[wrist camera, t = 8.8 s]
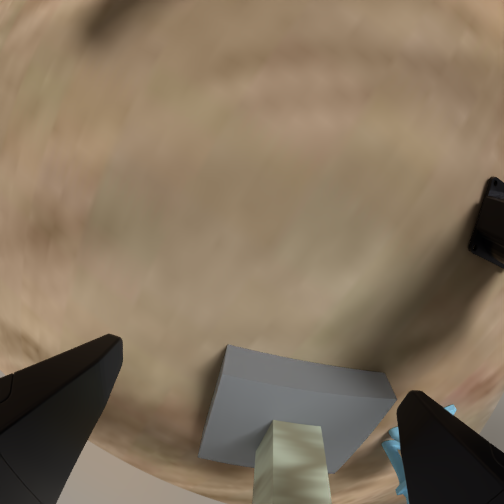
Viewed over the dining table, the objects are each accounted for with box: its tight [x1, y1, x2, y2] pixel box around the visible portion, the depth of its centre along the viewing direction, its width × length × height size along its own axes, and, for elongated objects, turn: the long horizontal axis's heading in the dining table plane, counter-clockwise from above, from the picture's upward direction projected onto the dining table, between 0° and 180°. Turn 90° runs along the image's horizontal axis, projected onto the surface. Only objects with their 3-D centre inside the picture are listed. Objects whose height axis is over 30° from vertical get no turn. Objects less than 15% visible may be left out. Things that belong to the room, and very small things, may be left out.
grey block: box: [198, 345, 397, 473], centre depth 23 cm, size 14×12×4 cm
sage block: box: [252, 420, 332, 504], centre depth 17 cm, size 4×5×8 cm
